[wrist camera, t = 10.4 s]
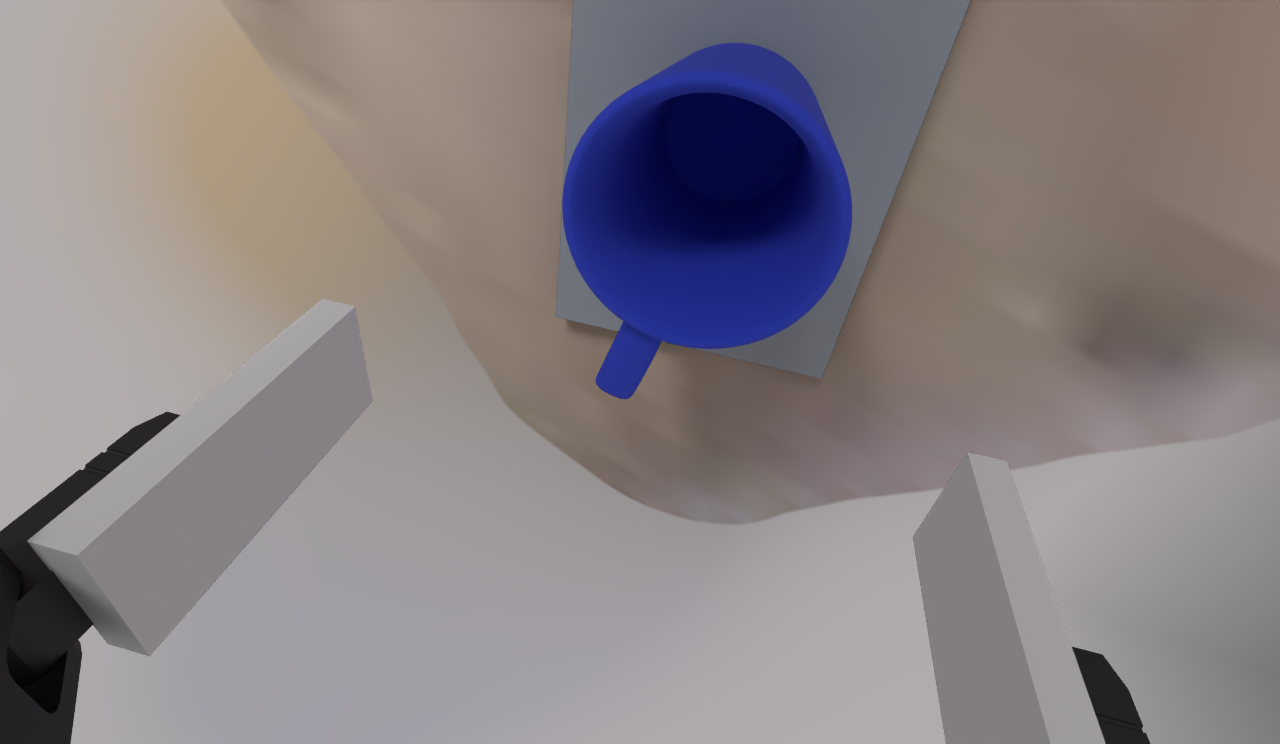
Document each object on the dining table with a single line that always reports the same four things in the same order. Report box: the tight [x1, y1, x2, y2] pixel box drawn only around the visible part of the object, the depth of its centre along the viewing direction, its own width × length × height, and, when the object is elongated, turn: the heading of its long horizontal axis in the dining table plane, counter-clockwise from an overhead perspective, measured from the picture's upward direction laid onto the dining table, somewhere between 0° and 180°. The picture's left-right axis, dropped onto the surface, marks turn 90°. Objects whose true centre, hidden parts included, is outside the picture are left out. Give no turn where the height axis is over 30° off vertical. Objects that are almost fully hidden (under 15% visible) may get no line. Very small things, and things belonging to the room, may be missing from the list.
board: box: [556, 0, 971, 379], centre depth 27 cm, size 18×14×1 cm
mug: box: [562, 43, 852, 399], centre depth 23 cm, size 8×12×10 cm
